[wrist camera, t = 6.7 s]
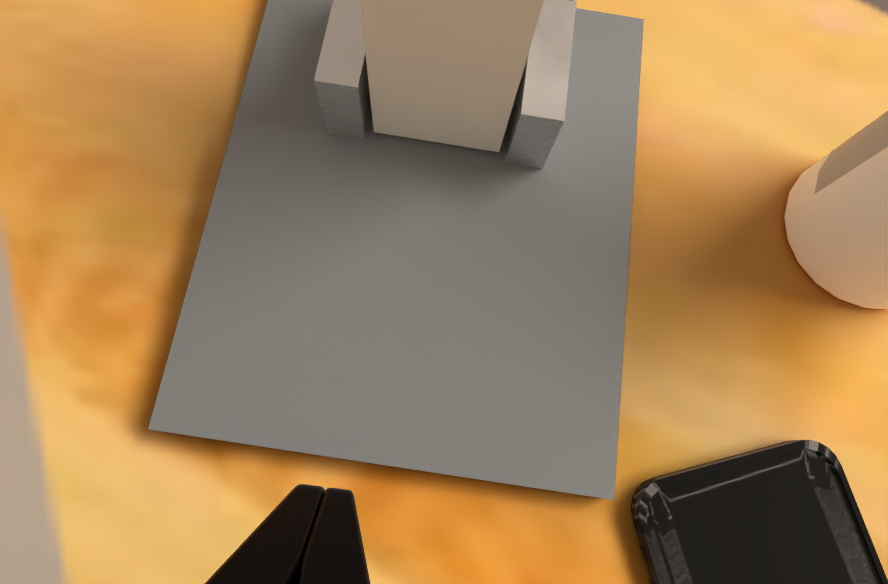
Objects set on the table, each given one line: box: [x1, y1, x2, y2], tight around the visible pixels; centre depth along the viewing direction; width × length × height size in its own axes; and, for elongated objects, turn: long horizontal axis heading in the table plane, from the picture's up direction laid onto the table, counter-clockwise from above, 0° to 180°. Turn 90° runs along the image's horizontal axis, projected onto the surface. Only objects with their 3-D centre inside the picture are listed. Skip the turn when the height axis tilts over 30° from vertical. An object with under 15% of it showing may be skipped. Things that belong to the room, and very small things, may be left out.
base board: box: [148, 0, 644, 500], centre depth 23 cm, size 20×16×1 cm
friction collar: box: [314, 0, 576, 170], centre depth 22 cm, size 7×9×4 cm
